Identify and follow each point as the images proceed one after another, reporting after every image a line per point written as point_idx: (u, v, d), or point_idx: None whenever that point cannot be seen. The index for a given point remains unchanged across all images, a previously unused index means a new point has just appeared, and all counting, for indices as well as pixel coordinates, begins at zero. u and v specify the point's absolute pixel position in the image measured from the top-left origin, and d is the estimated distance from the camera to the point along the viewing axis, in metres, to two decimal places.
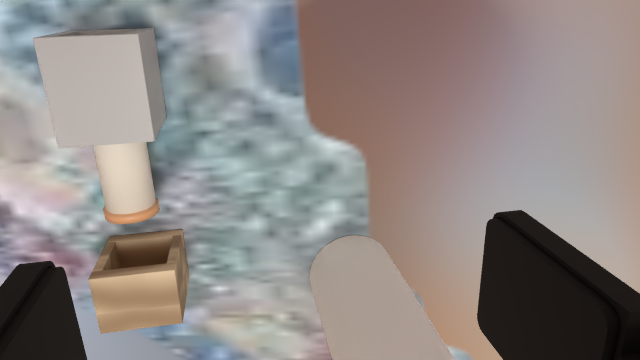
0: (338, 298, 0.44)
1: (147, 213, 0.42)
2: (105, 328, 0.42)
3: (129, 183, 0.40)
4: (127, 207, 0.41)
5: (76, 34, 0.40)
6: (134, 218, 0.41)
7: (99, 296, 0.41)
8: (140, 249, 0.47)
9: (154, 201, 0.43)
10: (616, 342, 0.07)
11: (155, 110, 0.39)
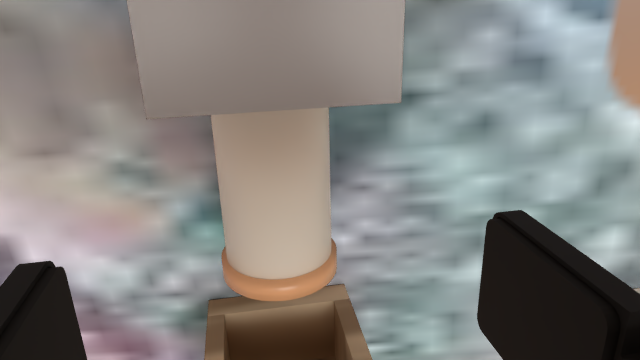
0: None
1: (325, 274, 0.18)
2: None
3: (298, 208, 0.17)
4: (287, 263, 0.17)
5: None
6: (301, 288, 0.18)
7: None
8: (270, 328, 0.24)
9: None
10: (616, 342, 0.07)
11: None
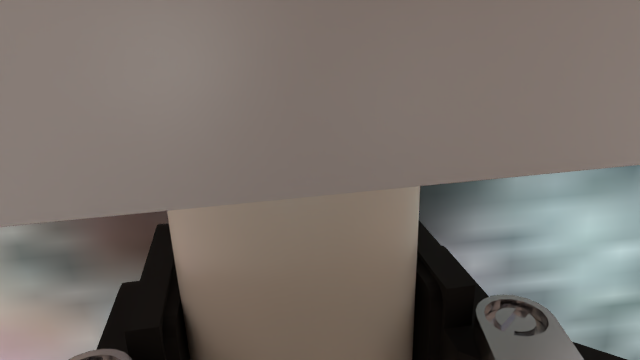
0: None
1: None
2: None
3: None
4: None
5: None
6: None
7: None
8: None
9: None
10: (440, 316, 0.08)
11: None
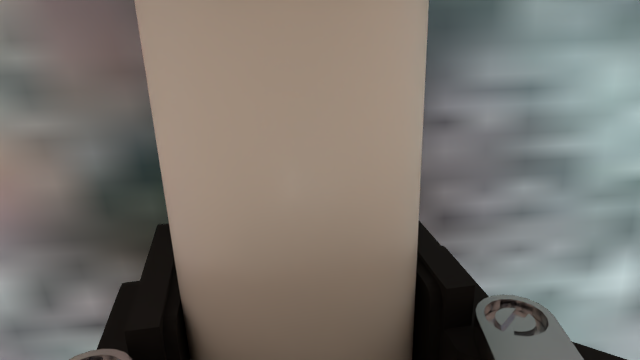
0: None
1: None
2: None
3: None
4: None
5: None
6: None
7: None
8: None
9: None
10: (440, 316, 0.08)
11: None
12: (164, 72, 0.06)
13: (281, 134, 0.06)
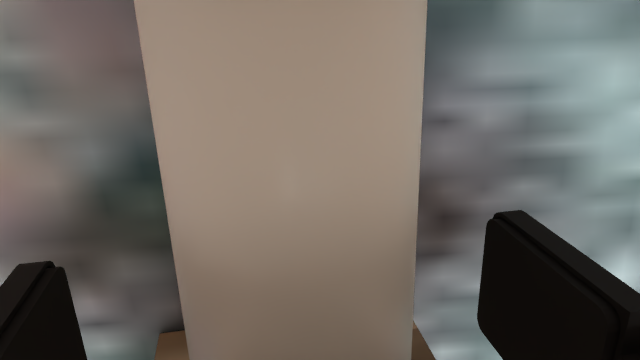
0: None
1: None
2: None
3: None
4: None
5: None
6: None
7: None
8: None
9: None
10: (615, 342, 0.07)
11: None
12: (163, 68, 0.06)
13: (279, 130, 0.06)
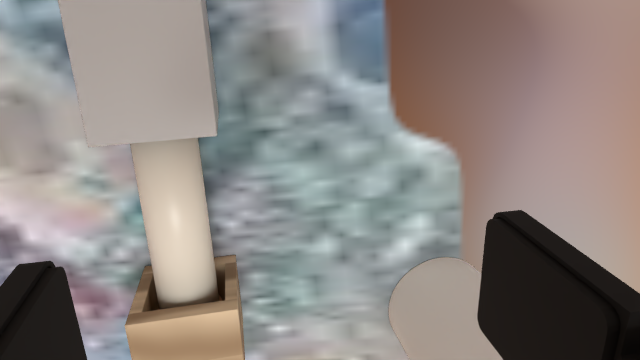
0: (447, 341, 0.34)
1: None
2: None
3: (192, 286, 0.32)
4: None
5: None
6: None
7: (138, 347, 0.31)
8: None
9: None
10: (616, 342, 0.07)
11: (214, 97, 0.29)
12: (141, 191, 0.31)
13: (163, 203, 0.30)
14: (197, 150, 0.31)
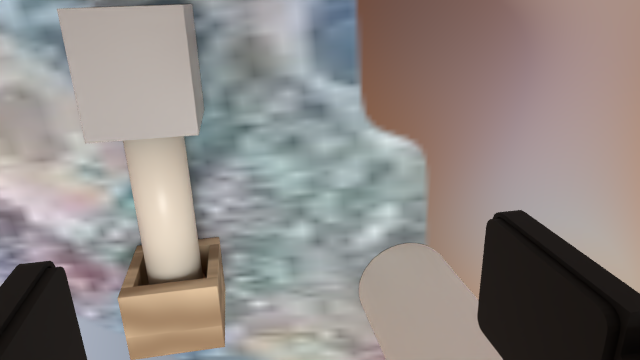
0: (403, 317, 0.38)
1: None
2: (135, 354, 0.36)
3: (177, 265, 0.37)
4: None
5: None
6: None
7: (130, 317, 0.35)
8: None
9: None
10: (616, 342, 0.07)
11: (197, 99, 0.33)
12: (133, 181, 0.35)
13: (152, 192, 0.34)
14: (183, 145, 0.35)
